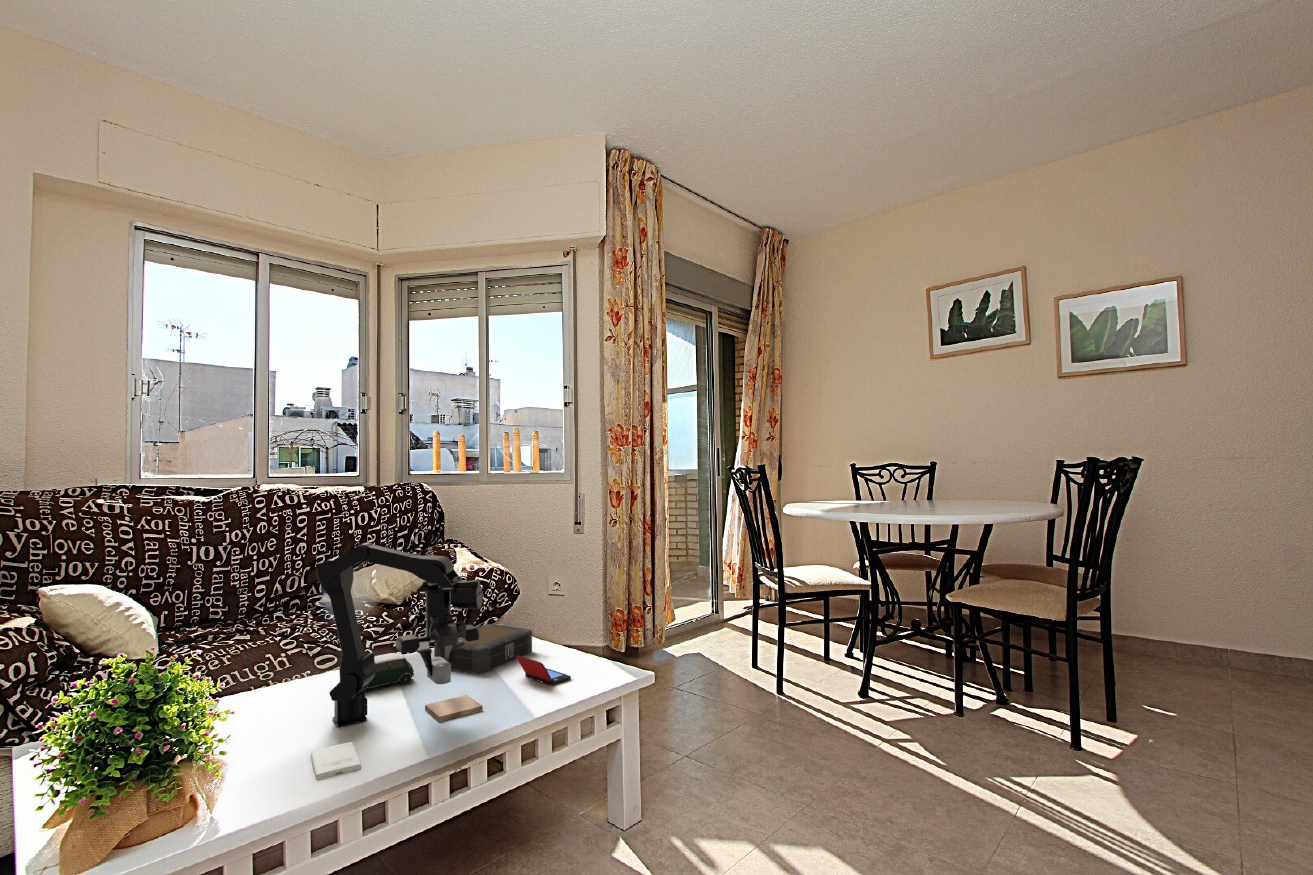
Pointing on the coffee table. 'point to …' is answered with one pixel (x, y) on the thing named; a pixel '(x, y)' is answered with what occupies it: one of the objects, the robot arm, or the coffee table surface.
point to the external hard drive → (335, 760)
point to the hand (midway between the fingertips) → (438, 673)
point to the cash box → (490, 648)
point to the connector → (440, 671)
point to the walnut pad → (453, 708)
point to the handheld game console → (541, 672)
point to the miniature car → (391, 670)
